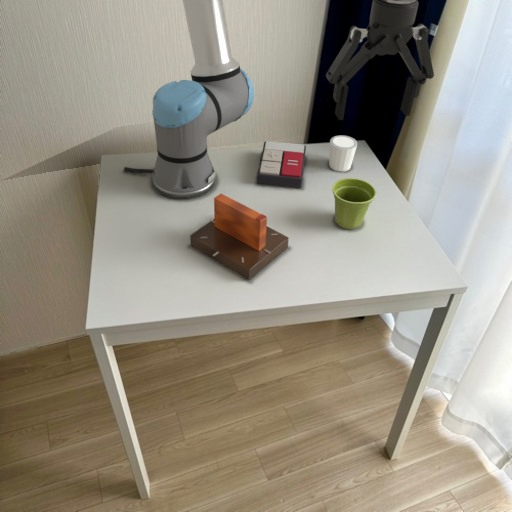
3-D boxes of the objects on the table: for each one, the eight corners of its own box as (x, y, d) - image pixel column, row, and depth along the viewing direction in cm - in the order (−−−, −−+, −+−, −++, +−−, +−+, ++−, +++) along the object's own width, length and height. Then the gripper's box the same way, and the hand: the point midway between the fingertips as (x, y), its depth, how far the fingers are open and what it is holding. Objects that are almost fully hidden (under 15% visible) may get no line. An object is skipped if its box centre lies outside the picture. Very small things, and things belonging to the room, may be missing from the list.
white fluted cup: (354, 160, 138) (358, 137, 133) (351, 174, 133) (356, 150, 128) (328, 156, 139) (332, 133, 134) (325, 170, 134) (328, 146, 129)
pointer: (214, 226, 111) (213, 196, 105) (221, 221, 112) (221, 192, 107) (258, 251, 105) (260, 221, 100) (265, 245, 107) (267, 215, 101)
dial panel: (184, 249, 109) (184, 238, 107) (234, 214, 119) (235, 203, 117) (244, 285, 102) (244, 274, 100) (292, 244, 112) (293, 233, 110)
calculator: (257, 172, 126) (264, 138, 136) (256, 186, 129) (263, 152, 139) (302, 176, 125) (306, 142, 135) (301, 190, 128) (304, 156, 138)
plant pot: (367, 237, 114) (375, 205, 109) (325, 230, 116) (330, 199, 110) (369, 212, 121) (377, 181, 115) (329, 206, 122) (334, 175, 117)
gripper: (332, 6, 82) (316, 128, 96) (475, 2, 86) (440, 120, 101) (318, -9, 87) (305, 109, 102) (454, -11, 92) (423, 102, 106)
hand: (372, 114), depth 101 cm, fingers open, 13 cm apart
